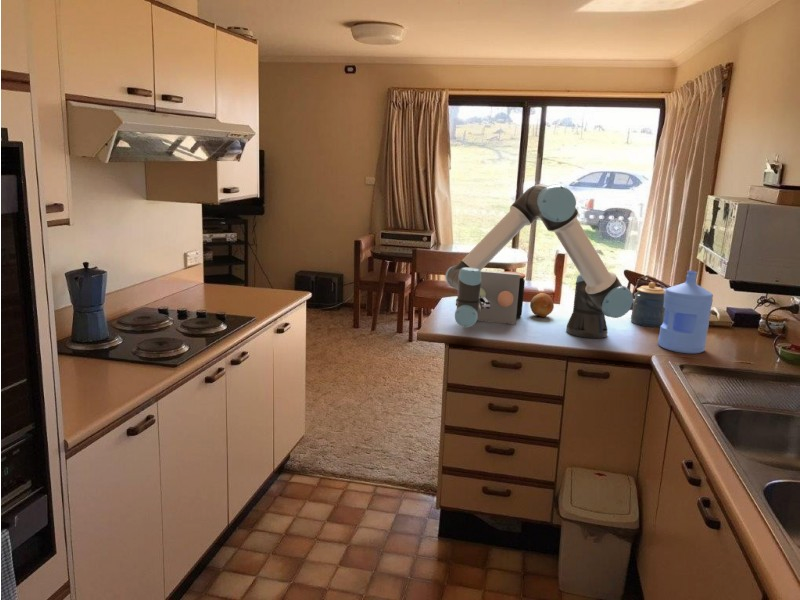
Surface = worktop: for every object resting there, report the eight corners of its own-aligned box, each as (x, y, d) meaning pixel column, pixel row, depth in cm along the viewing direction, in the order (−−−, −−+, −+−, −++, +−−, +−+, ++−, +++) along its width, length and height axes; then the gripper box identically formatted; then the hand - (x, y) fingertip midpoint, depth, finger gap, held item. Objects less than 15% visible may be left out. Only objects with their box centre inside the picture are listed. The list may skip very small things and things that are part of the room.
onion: (523, 314, 261) (526, 291, 259) (540, 312, 266) (542, 290, 264) (540, 320, 253) (543, 296, 251) (557, 317, 258) (559, 294, 256)
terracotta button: (498, 301, 246) (499, 287, 244) (513, 303, 244) (514, 288, 243) (496, 306, 238) (498, 291, 236) (512, 307, 236) (513, 292, 235)
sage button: (471, 297, 251) (473, 283, 249) (486, 299, 249) (487, 284, 248) (469, 302, 243) (470, 287, 241) (484, 303, 241) (485, 288, 240)
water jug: (679, 340, 232) (690, 267, 226) (714, 352, 217) (727, 275, 212) (647, 343, 226) (658, 268, 220) (681, 355, 212) (693, 276, 206)
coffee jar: (520, 313, 262) (524, 272, 259) (522, 319, 252) (526, 276, 248) (495, 312, 263) (498, 270, 260) (496, 317, 253) (500, 275, 249)
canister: (641, 327, 249) (647, 285, 245) (624, 319, 261) (629, 279, 257) (670, 327, 251) (676, 285, 248) (651, 319, 264) (657, 279, 260)
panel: (466, 317, 251) (469, 269, 246) (515, 322, 246) (520, 273, 242) (465, 319, 248) (468, 270, 243) (515, 324, 244) (519, 274, 239)
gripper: (451, 316, 221) (460, 303, 243) (487, 320, 218) (493, 306, 241) (453, 296, 219) (461, 284, 242) (489, 299, 216) (494, 287, 239)
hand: (477, 295), depth 241 cm, fingers closed
